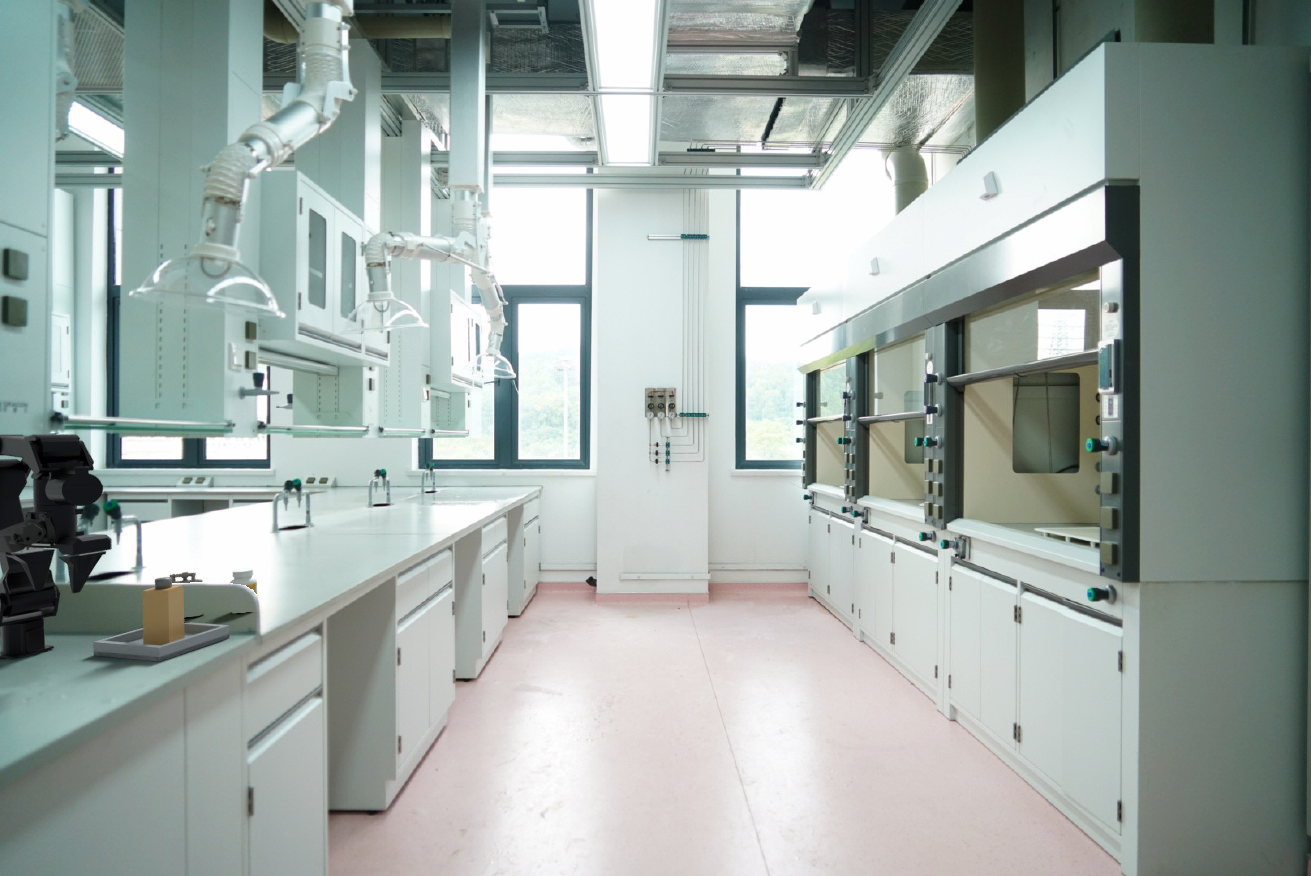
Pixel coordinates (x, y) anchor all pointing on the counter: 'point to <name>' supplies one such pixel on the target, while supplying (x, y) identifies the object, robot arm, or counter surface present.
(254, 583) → the supplement bottle
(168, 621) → the reagent bottle
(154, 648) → the tray
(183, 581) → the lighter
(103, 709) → the counter surface
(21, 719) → the counter surface
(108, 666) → the counter surface
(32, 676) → the counter surface
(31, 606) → the robot arm
